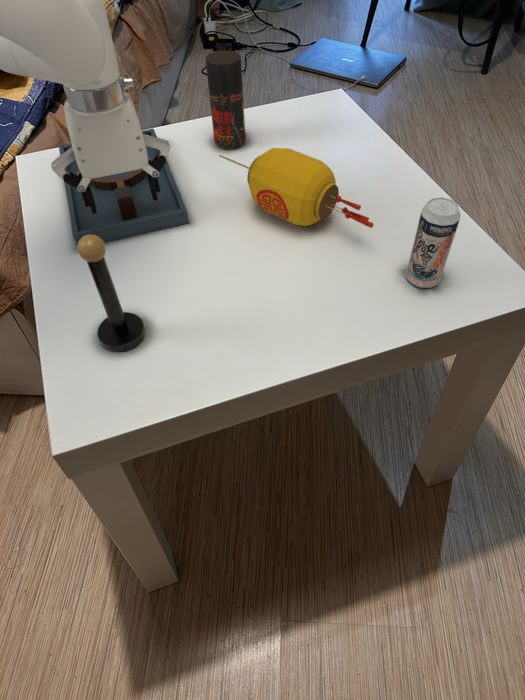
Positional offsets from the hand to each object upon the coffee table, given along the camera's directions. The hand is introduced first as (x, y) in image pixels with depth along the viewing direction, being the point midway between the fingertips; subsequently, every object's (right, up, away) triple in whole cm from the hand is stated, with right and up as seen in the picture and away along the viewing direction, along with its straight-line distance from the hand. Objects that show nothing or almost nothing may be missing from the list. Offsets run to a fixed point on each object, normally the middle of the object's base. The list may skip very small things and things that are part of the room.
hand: (124, 202), depth 83 cm
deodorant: (+16, +16, +16) cm, 28 cm away
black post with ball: (+3, -21, -14) cm, 26 cm away
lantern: (+27, -1, +2) cm, 27 cm away
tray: (-3, +5, +7) cm, 9 cm away
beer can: (+45, -13, -9) cm, 47 cm away
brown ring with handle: (-3, +5, +7) cm, 9 cm away
